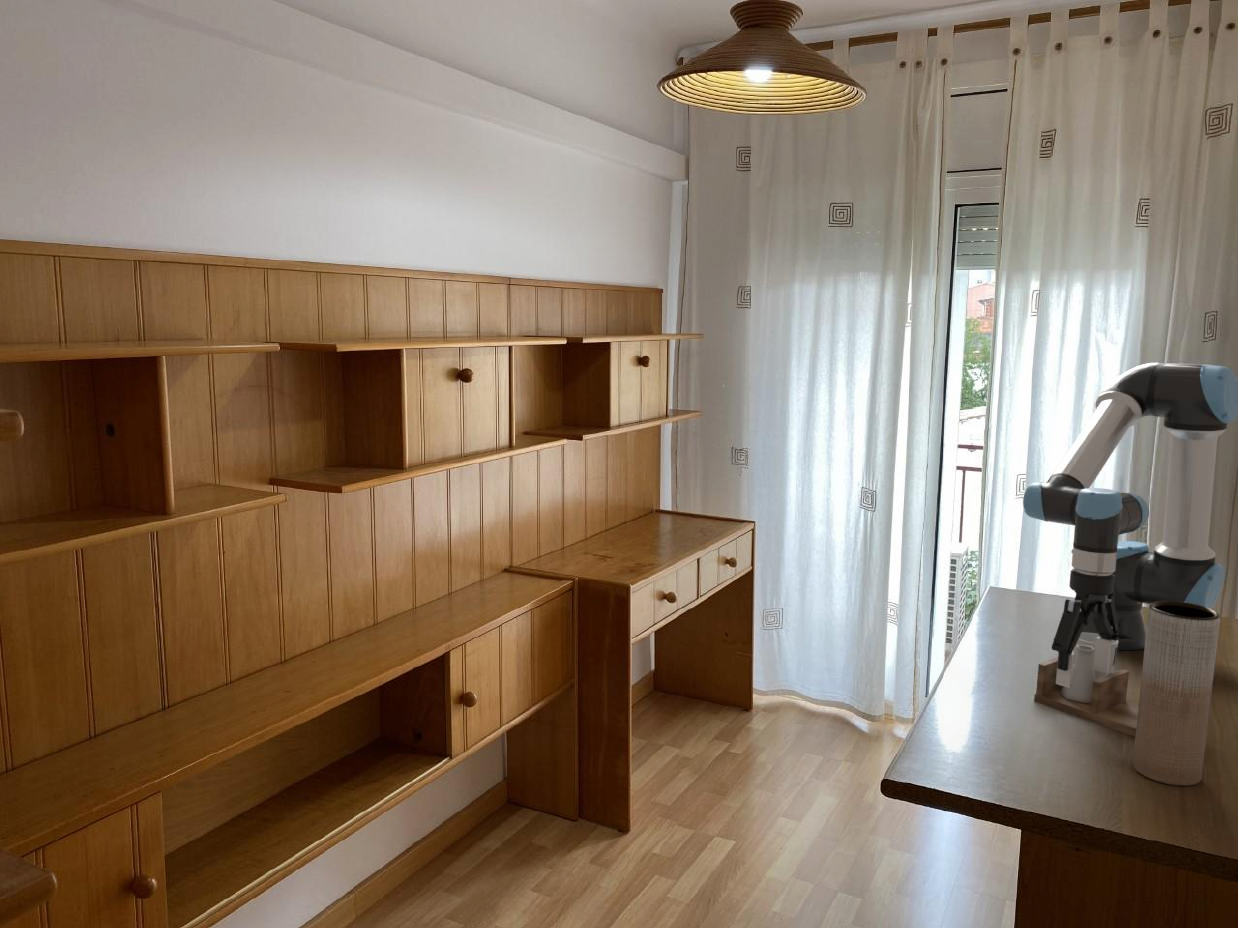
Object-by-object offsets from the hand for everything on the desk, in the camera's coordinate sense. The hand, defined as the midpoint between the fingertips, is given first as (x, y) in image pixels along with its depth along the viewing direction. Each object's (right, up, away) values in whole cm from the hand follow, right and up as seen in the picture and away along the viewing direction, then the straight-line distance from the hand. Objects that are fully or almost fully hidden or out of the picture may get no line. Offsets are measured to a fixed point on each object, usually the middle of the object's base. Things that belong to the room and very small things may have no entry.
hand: (1082, 678), depth 188 cm
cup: (+7, -4, +10) cm, 13 cm away
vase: (+1, -10, -27) cm, 29 cm away
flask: (0, -4, +1) cm, 4 cm away
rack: (+3, -6, -4) cm, 8 cm away
